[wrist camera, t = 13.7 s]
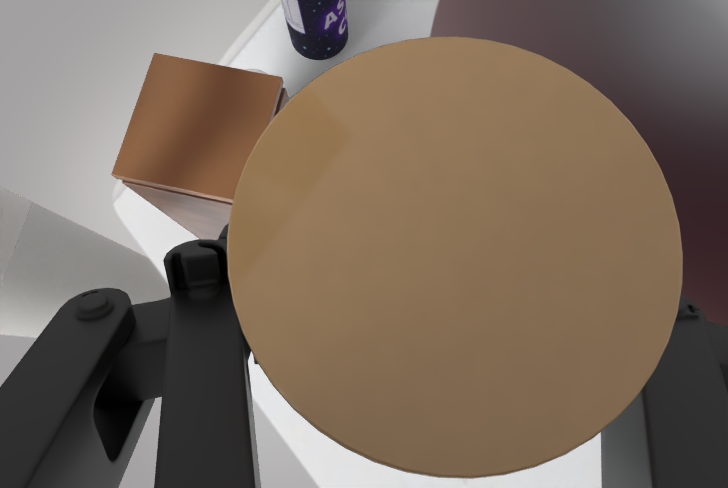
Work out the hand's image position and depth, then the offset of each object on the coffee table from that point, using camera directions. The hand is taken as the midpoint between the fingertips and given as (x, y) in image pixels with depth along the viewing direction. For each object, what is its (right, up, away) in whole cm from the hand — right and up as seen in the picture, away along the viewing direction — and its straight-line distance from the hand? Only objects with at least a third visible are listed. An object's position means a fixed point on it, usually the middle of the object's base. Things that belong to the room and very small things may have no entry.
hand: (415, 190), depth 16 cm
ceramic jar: (0, -4, +3) cm, 5 cm away
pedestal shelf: (-10, 0, +32) cm, 33 cm away
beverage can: (-6, +19, +36) cm, 41 cm away
